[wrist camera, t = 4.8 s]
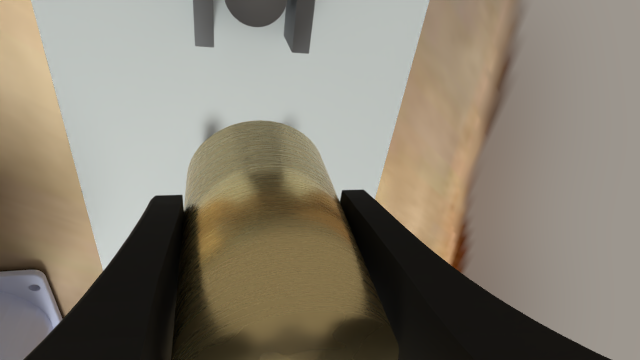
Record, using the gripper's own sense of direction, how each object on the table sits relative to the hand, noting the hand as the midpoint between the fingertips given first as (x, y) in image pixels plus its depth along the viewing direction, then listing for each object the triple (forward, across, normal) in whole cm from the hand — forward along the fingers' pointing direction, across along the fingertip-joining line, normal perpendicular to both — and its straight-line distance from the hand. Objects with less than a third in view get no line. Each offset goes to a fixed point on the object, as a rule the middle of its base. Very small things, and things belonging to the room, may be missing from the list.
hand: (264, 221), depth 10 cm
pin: (+2, 0, 0) cm, 2 cm away
